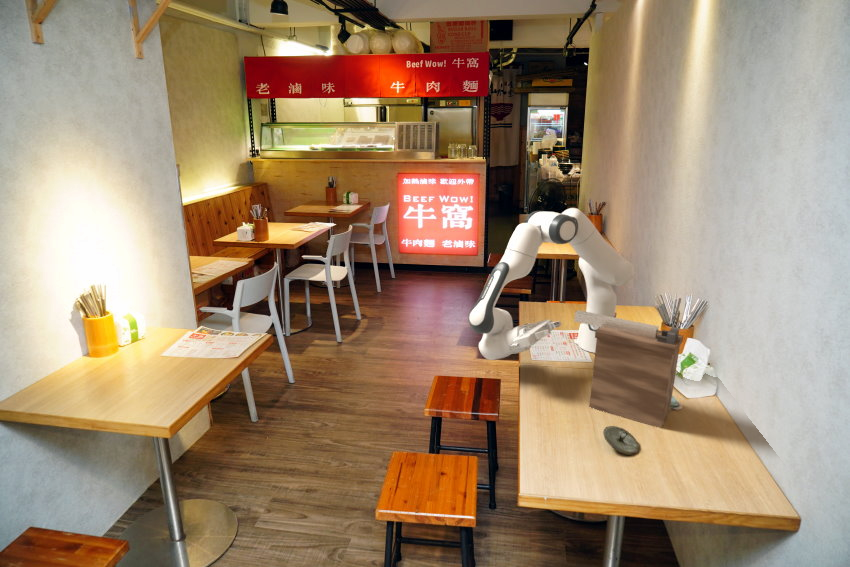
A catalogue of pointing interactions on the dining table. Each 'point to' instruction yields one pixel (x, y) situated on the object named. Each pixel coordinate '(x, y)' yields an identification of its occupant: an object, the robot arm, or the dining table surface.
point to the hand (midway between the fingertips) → (554, 327)
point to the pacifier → (675, 404)
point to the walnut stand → (635, 374)
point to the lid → (621, 440)
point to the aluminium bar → (616, 324)
